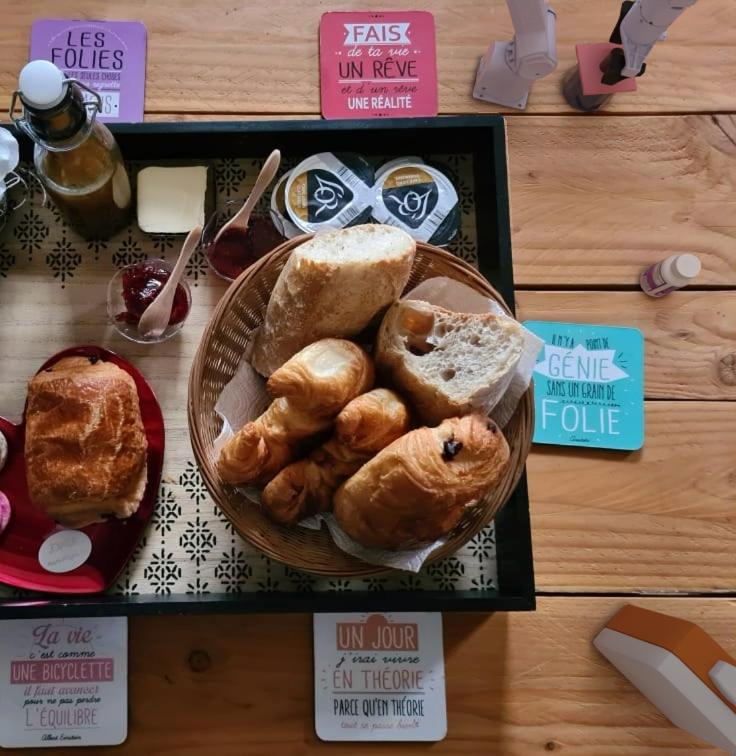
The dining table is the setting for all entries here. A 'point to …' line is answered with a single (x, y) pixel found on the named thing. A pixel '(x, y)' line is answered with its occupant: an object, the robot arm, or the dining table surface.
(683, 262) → the pill bottle
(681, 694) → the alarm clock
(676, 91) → the dining table surface
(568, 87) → the dark faceted cylinder
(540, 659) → the dining table surface
